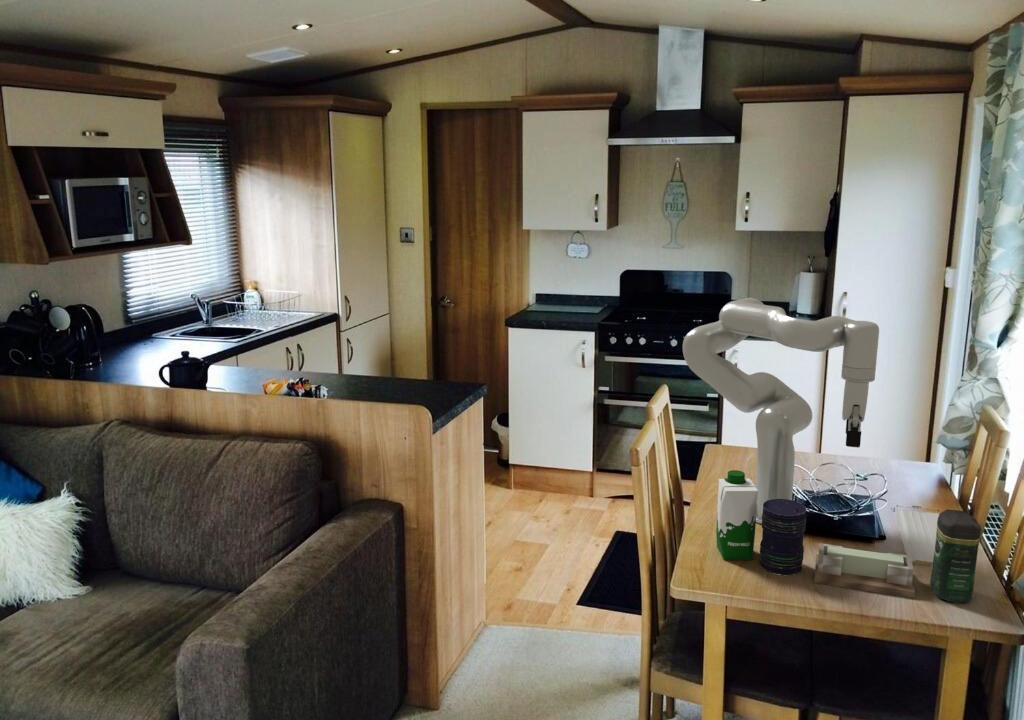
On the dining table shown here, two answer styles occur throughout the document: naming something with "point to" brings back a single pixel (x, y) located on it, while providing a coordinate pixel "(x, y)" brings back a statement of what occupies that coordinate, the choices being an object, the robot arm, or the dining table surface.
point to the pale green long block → (865, 561)
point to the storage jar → (782, 536)
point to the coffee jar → (955, 556)
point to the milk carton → (736, 516)
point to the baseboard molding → (918, 534)
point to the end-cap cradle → (895, 583)
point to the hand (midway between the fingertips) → (852, 440)
